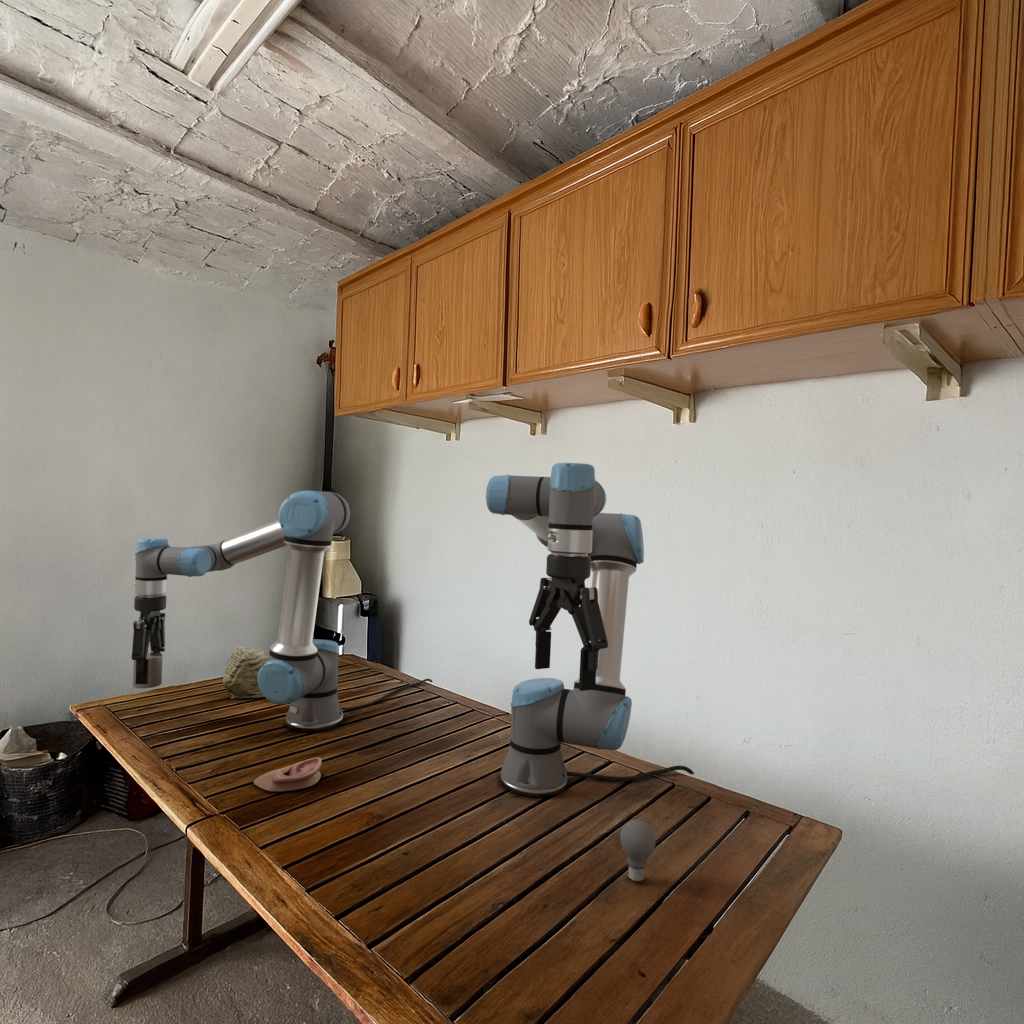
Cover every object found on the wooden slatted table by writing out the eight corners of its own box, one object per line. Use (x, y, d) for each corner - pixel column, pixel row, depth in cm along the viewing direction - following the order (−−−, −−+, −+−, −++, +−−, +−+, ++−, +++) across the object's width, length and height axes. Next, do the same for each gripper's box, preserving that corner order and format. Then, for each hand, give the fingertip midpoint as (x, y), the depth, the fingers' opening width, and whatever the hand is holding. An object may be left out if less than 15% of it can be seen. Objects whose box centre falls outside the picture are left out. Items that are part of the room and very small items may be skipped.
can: (166, 684, 172) (167, 655, 172) (139, 690, 166) (140, 660, 166) (154, 679, 176) (155, 651, 176) (128, 684, 171) (129, 655, 170)
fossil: (218, 695, 195) (220, 647, 195) (278, 685, 208) (279, 640, 207) (228, 703, 189) (230, 653, 188) (289, 692, 201) (290, 645, 201)
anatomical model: (245, 769, 136) (276, 749, 147) (245, 787, 136) (275, 766, 147) (302, 777, 133) (328, 756, 144) (301, 796, 133) (328, 773, 144)
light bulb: (614, 869, 112) (617, 812, 111) (647, 868, 112) (650, 813, 112) (623, 890, 106) (626, 830, 105) (658, 889, 106) (661, 830, 106)
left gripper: (152, 589, 180) (150, 669, 181) (117, 600, 161) (114, 690, 161) (180, 590, 181) (177, 670, 181) (148, 601, 161) (145, 691, 162)
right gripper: (513, 547, 117) (508, 662, 117) (595, 562, 95) (589, 702, 95) (548, 547, 120) (543, 658, 121) (634, 561, 99) (628, 697, 99)
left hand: (148, 679), depth 171 cm, fingers closed on can, 7 cm apart
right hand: (563, 678), depth 108 cm, fingers open, 13 cm apart
